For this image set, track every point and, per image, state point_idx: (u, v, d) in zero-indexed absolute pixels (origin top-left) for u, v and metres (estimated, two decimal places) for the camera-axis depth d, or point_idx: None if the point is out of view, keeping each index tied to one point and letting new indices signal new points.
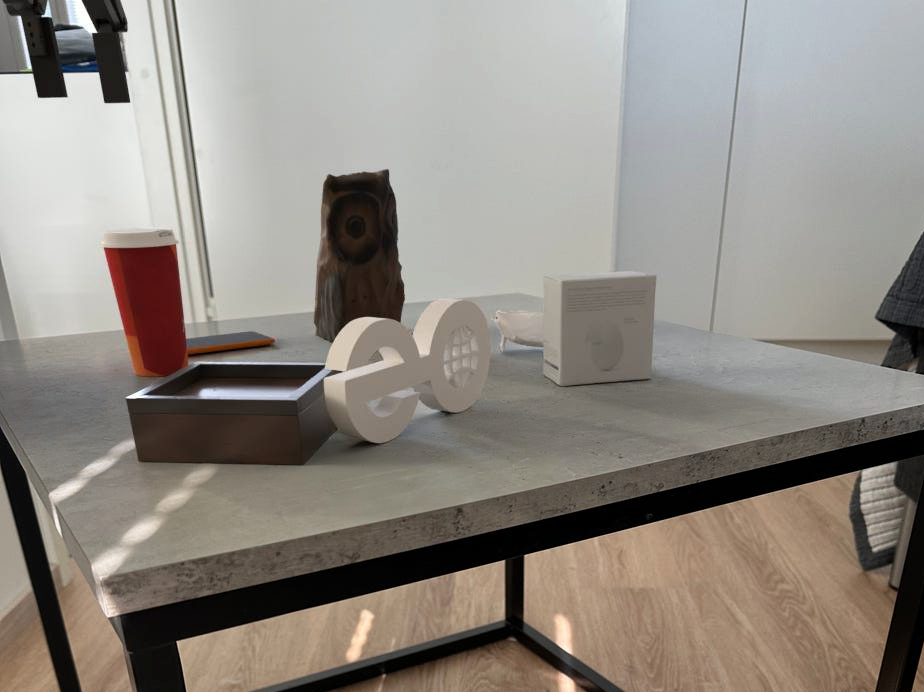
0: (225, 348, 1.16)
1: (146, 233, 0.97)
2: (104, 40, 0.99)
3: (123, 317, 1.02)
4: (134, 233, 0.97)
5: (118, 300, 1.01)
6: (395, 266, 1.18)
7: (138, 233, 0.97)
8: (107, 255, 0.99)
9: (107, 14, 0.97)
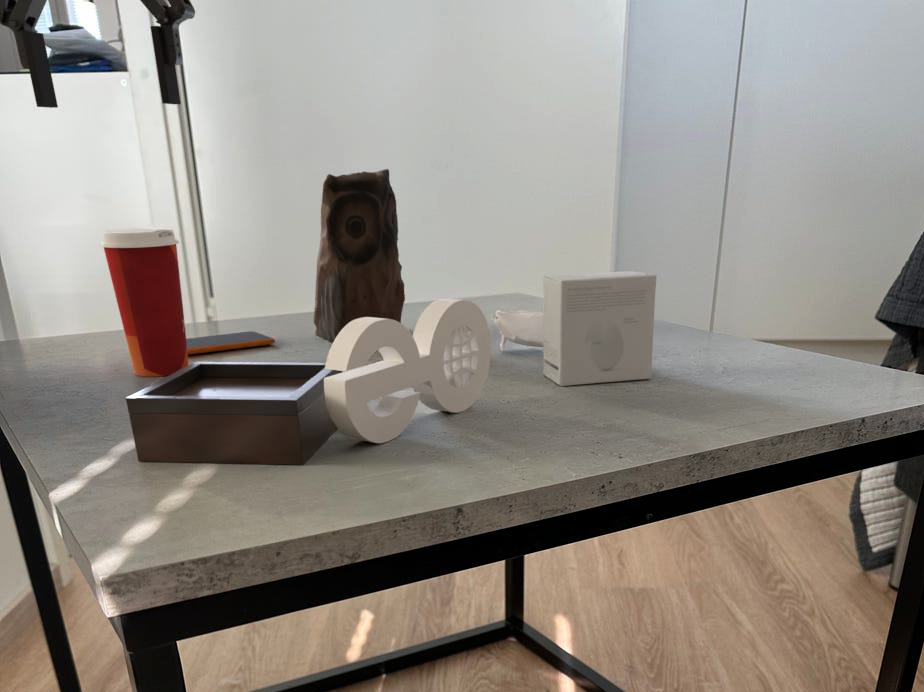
0: (225, 348, 1.16)
1: (146, 233, 0.97)
2: (36, 40, 0.93)
3: (123, 317, 1.02)
4: (134, 233, 0.97)
5: (118, 300, 1.01)
6: (395, 266, 1.18)
7: (138, 233, 0.97)
8: (107, 255, 0.99)
9: (38, 14, 0.92)
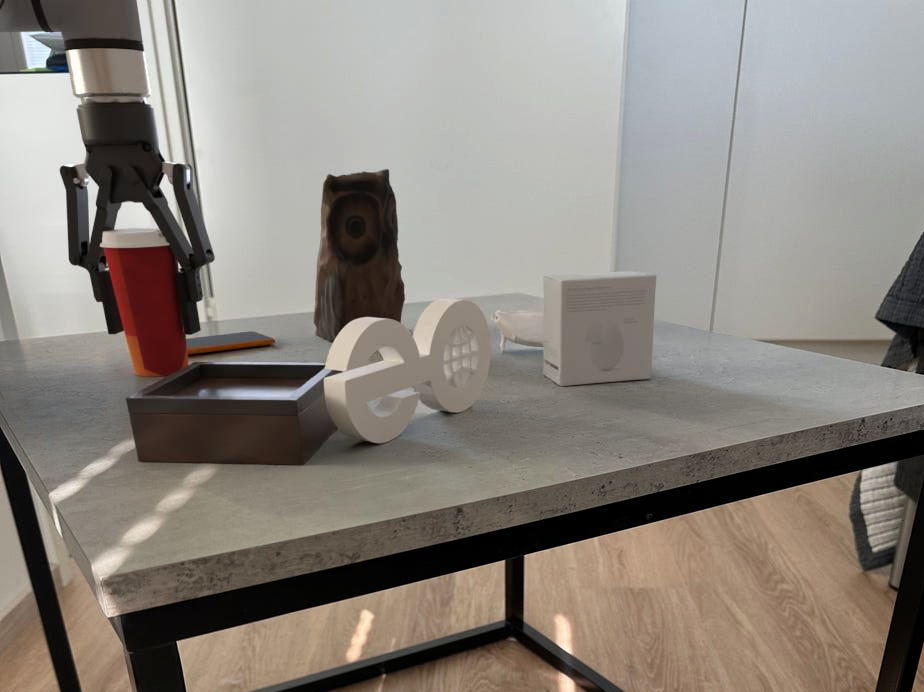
0: (225, 348, 1.16)
1: (146, 233, 0.97)
2: (109, 278, 1.02)
3: (123, 317, 1.02)
4: (134, 233, 0.97)
5: (118, 300, 1.01)
6: (395, 266, 1.18)
7: (138, 233, 0.97)
8: (107, 255, 0.99)
9: None
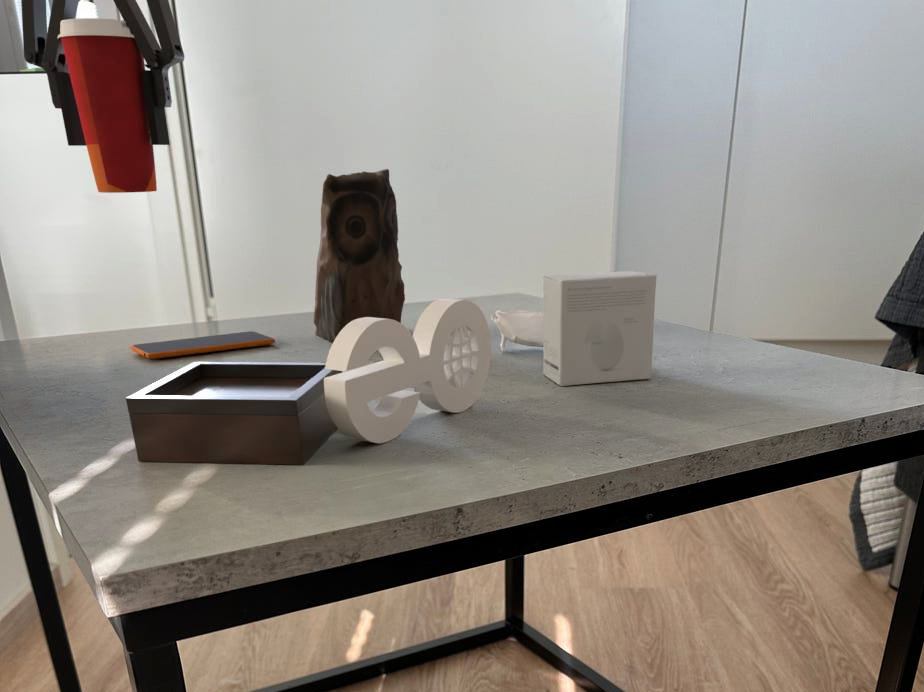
0: (225, 348, 1.16)
1: (108, 20, 0.88)
2: (69, 80, 0.94)
3: (83, 122, 0.93)
4: (94, 19, 0.88)
5: (78, 102, 0.92)
6: (395, 266, 1.18)
7: (99, 19, 0.88)
8: (65, 48, 0.90)
9: None
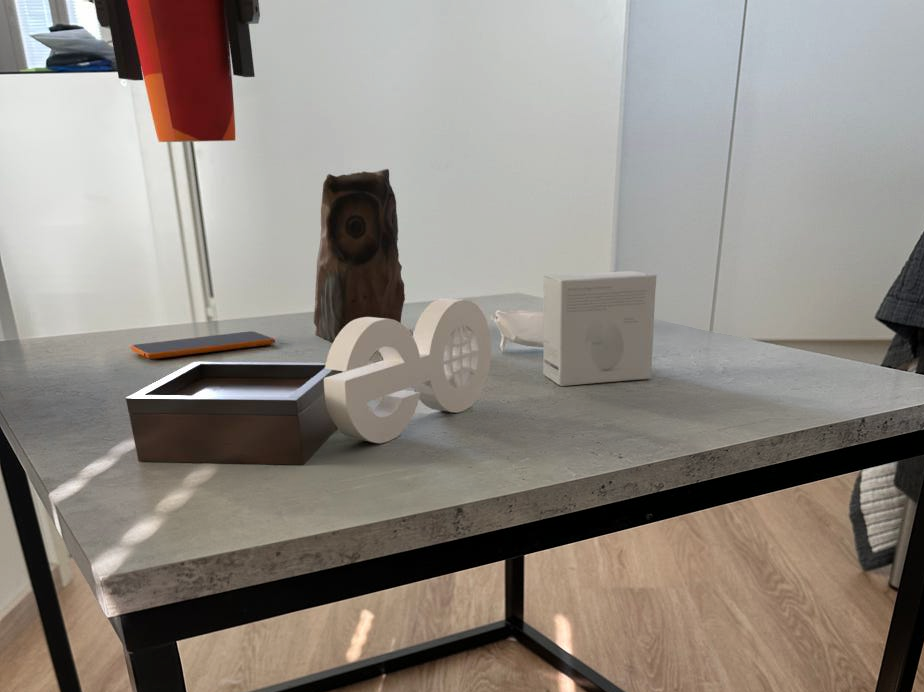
0: (225, 348, 1.16)
1: None
2: None
3: (141, 43, 0.68)
4: None
5: (134, 15, 0.67)
6: (395, 266, 1.18)
7: None
8: None
9: None
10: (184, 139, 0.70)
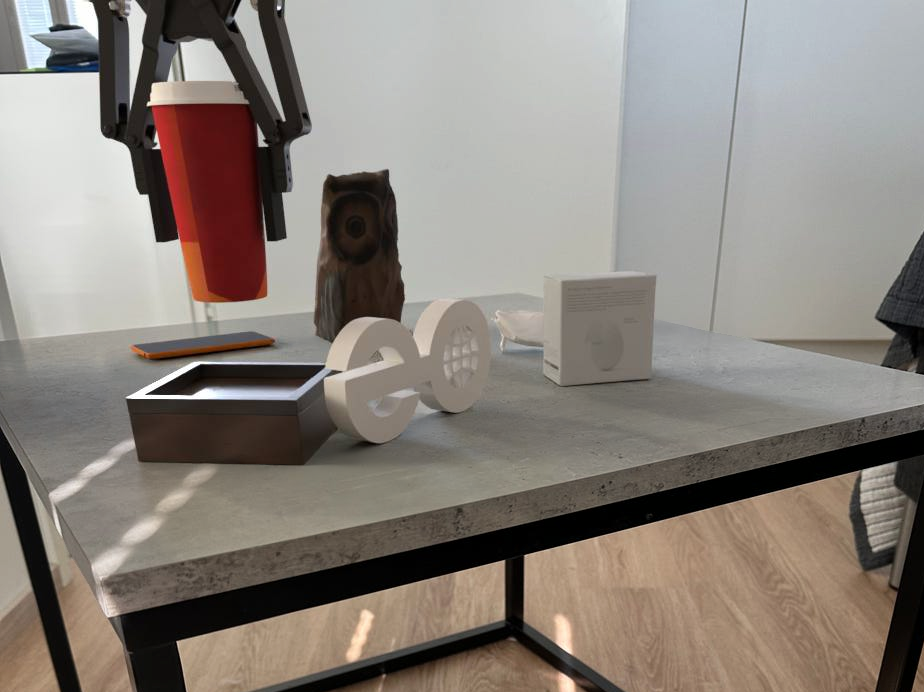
0: (225, 348, 1.16)
1: (217, 83, 0.66)
2: (158, 159, 0.71)
3: (178, 213, 0.70)
4: (199, 82, 0.65)
5: (172, 189, 0.70)
6: (395, 266, 1.18)
7: (205, 82, 0.65)
8: (158, 119, 0.67)
9: None
10: (219, 301, 0.73)
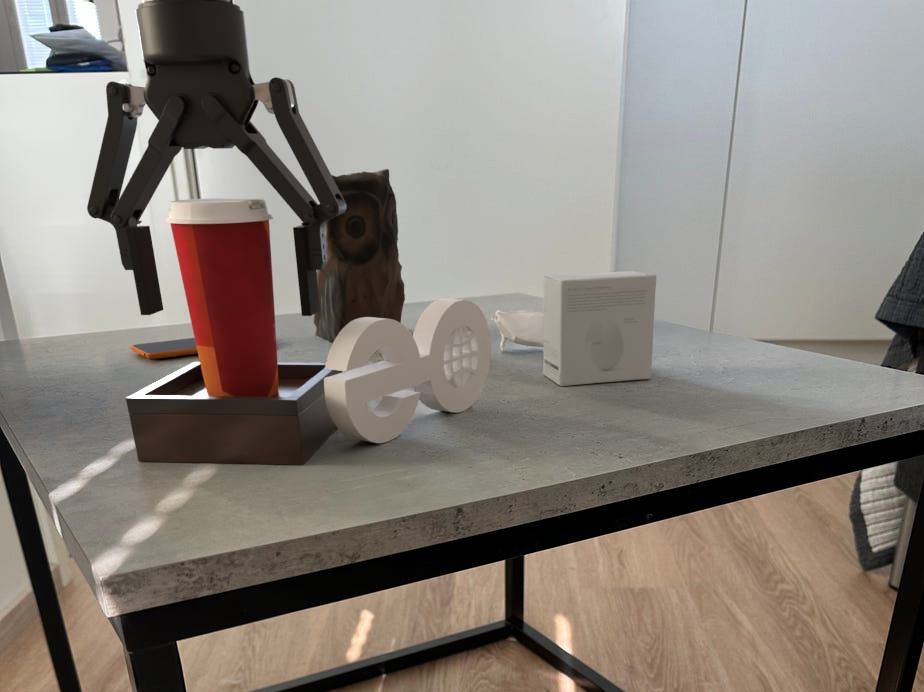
0: None
1: (233, 203, 0.69)
2: (143, 236, 0.74)
3: (195, 320, 0.74)
4: (216, 203, 0.69)
5: (189, 297, 0.73)
6: (395, 266, 1.18)
7: (222, 203, 0.69)
8: (176, 235, 0.71)
9: (145, 205, 0.74)
10: None
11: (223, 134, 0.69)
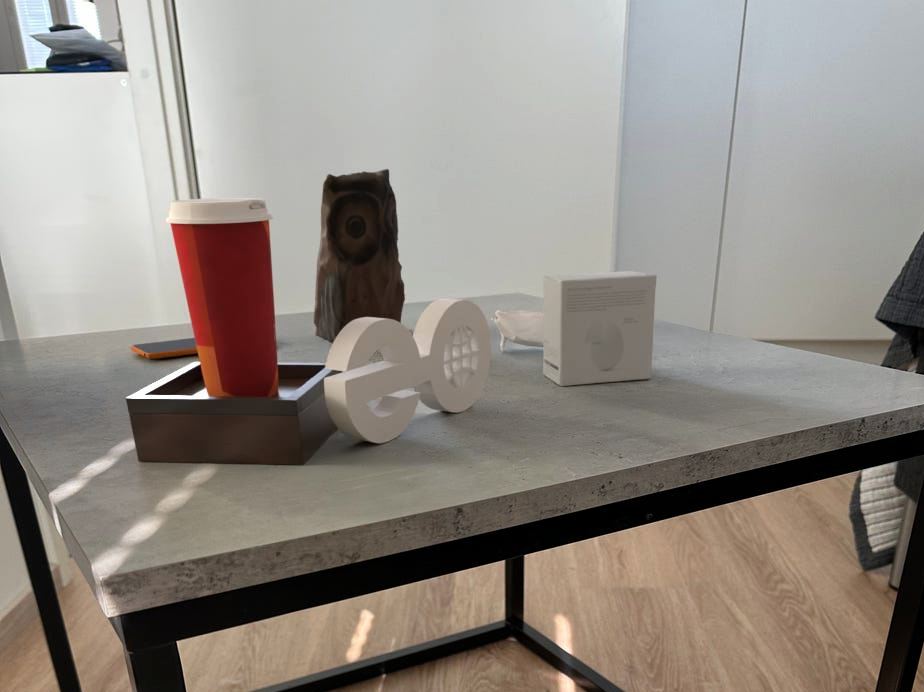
0: None
1: (233, 203, 0.69)
2: None
3: (195, 320, 0.74)
4: (216, 203, 0.69)
5: (189, 297, 0.73)
6: (395, 266, 1.18)
7: (222, 203, 0.69)
8: (176, 235, 0.71)
9: None
10: None
11: None
